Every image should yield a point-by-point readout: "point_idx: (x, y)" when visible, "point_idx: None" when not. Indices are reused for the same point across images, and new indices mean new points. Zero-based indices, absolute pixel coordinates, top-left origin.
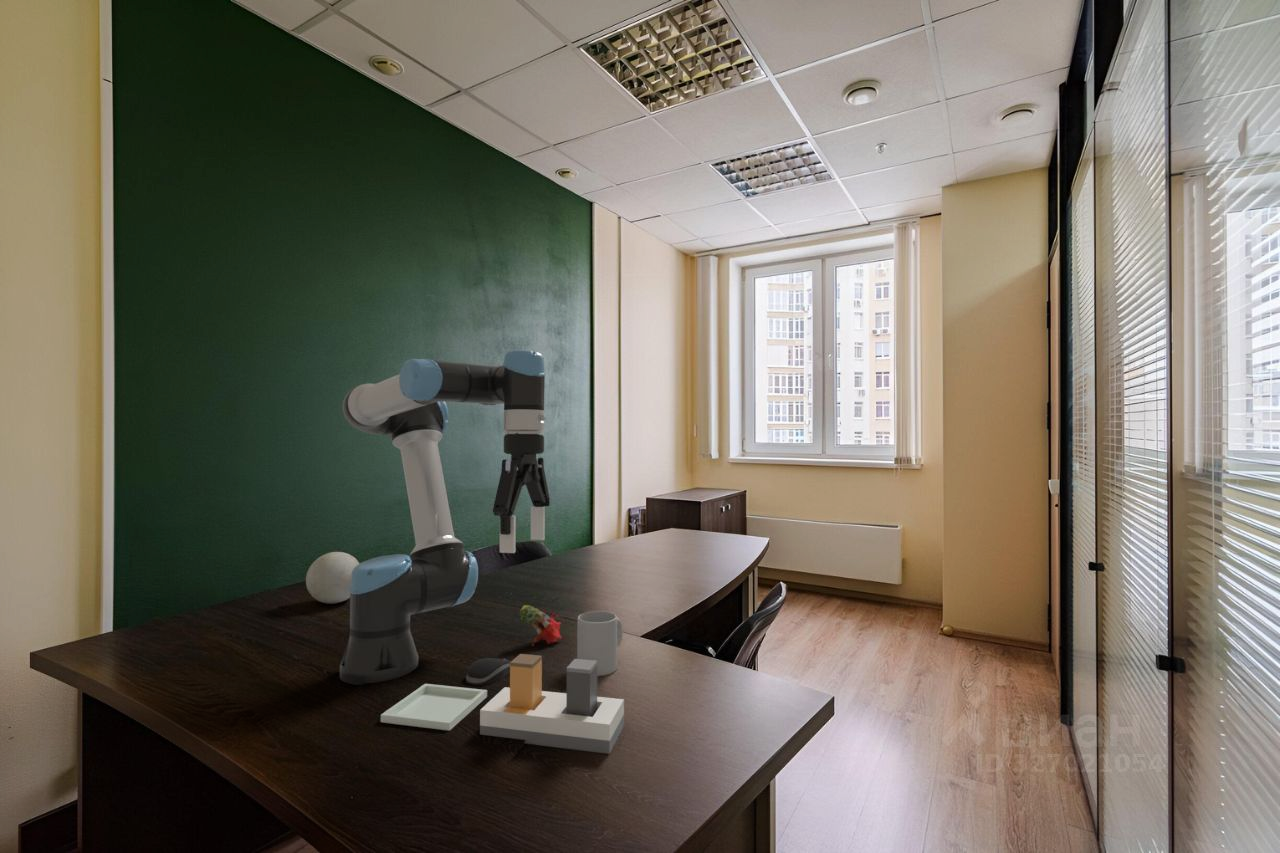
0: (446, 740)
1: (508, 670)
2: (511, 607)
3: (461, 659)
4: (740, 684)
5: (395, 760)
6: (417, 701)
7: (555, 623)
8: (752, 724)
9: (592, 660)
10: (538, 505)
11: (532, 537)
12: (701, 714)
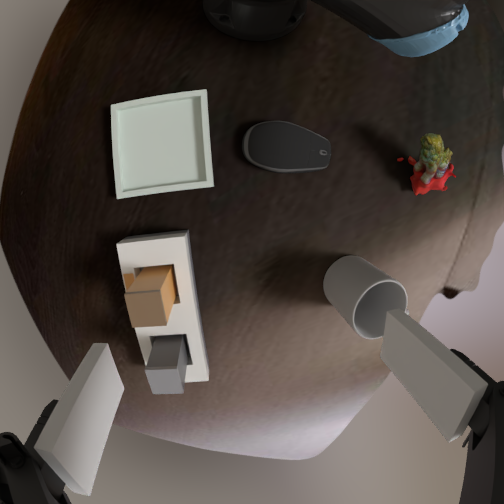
0: (109, 203)
1: (299, 171)
2: (487, 84)
3: (327, 78)
4: (328, 416)
5: (65, 182)
6: (172, 106)
7: (437, 185)
8: (252, 437)
9: (181, 388)
10: (477, 417)
11: (390, 323)
12: (257, 409)
